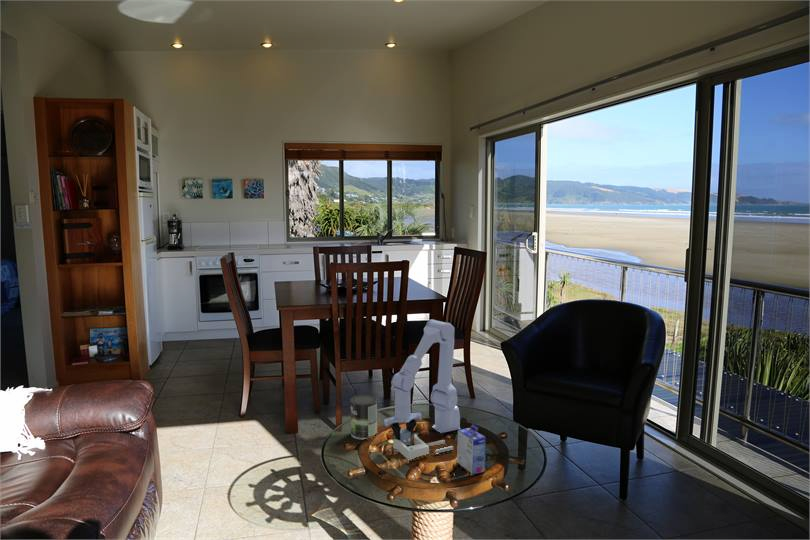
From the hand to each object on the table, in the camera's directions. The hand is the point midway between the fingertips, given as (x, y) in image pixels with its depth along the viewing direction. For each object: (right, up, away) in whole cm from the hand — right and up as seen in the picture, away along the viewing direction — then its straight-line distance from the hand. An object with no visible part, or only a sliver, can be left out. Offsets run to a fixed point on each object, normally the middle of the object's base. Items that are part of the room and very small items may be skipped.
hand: (403, 440), depth 212 cm
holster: (+13, -2, -4) cm, 14 cm away
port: (+3, -3, -6) cm, 7 cm away
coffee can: (-15, -1, +11) cm, 18 cm away
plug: (0, -1, 0) cm, 1 cm away
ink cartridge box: (+23, -4, -17) cm, 29 cm away
